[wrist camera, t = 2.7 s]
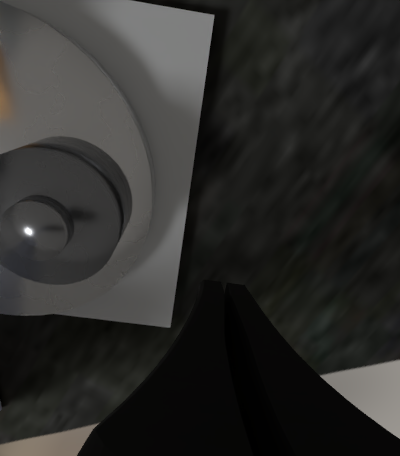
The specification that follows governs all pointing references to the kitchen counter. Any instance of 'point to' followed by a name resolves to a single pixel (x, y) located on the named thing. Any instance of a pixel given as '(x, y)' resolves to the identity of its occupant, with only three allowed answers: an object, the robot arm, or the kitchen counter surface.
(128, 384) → the kitchen counter surface
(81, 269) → the cover
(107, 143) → the turntable
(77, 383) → the kitchen counter surface
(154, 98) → the base plate
